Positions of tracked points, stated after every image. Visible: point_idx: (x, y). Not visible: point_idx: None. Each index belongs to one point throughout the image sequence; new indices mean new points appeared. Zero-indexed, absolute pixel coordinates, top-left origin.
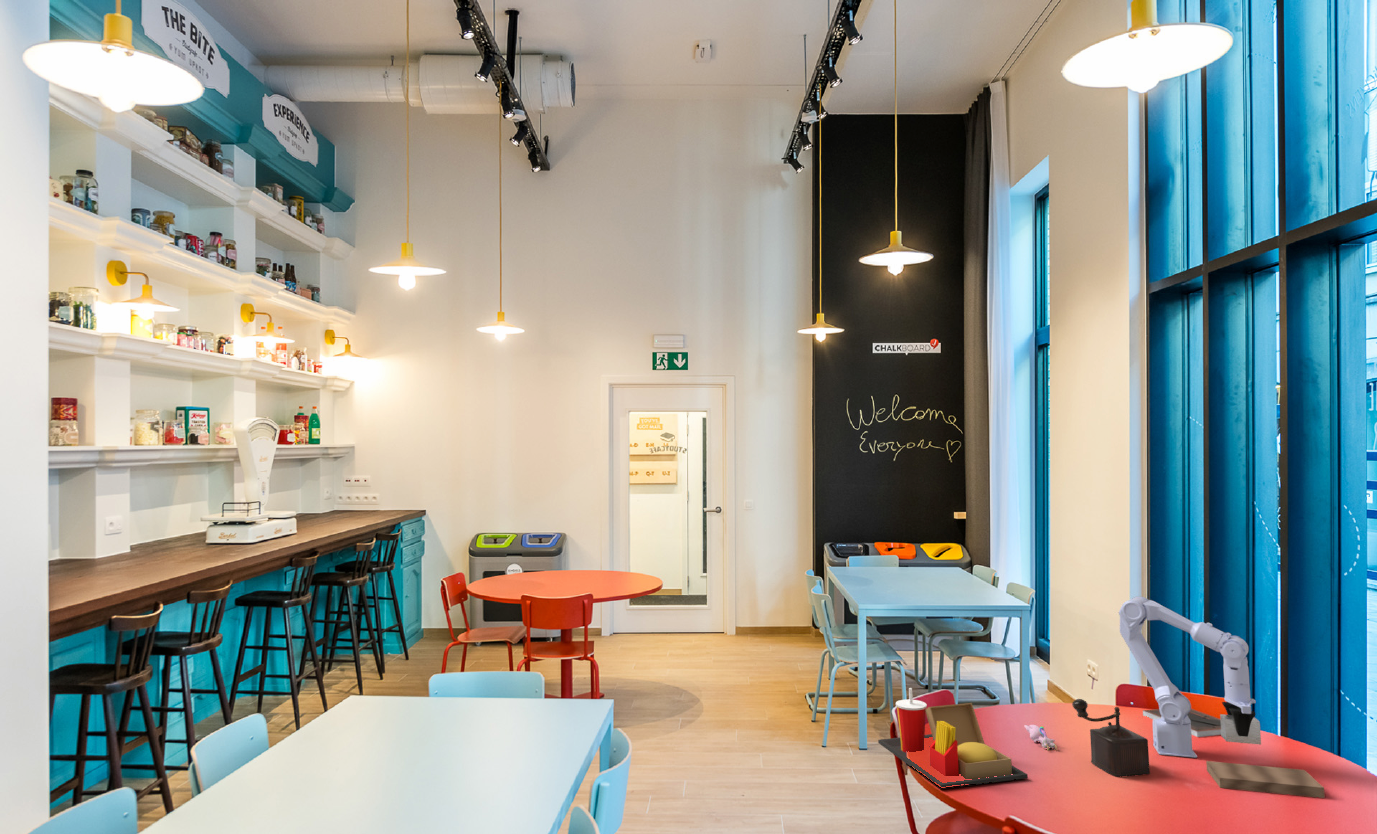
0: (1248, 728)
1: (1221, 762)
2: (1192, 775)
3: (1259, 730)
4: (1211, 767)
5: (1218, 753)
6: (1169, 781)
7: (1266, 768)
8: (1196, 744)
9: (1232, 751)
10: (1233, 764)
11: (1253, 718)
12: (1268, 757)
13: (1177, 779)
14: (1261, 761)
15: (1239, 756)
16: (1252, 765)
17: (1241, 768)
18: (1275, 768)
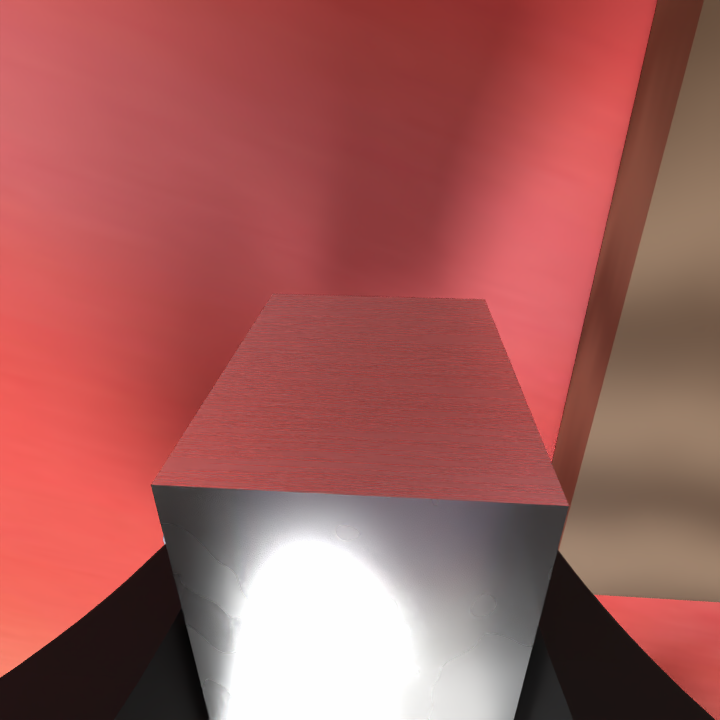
0: (563, 568)
1: (569, 530)
2: (621, 613)
3: (516, 400)
4: (670, 598)
5: (180, 406)
6: (709, 700)
7: (688, 282)
8: (55, 473)
9: (86, 309)
10: (603, 478)
11: (304, 532)
12: (100, 63)
13: (682, 672)
14: (243, 166)
15: (185, 296)
16: (615, 365)
17: (690, 456)
18: (687, 202)
